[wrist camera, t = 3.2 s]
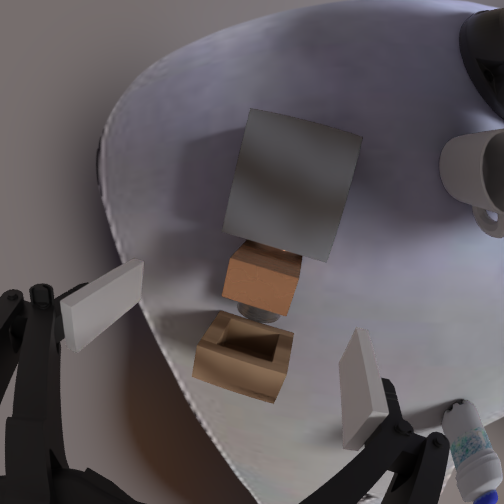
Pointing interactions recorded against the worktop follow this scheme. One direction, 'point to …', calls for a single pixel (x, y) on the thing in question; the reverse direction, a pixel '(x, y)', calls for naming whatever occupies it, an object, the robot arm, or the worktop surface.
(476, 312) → the worktop surface
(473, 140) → the cup
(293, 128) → the sleeve and socket
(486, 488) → the bottle
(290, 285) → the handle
